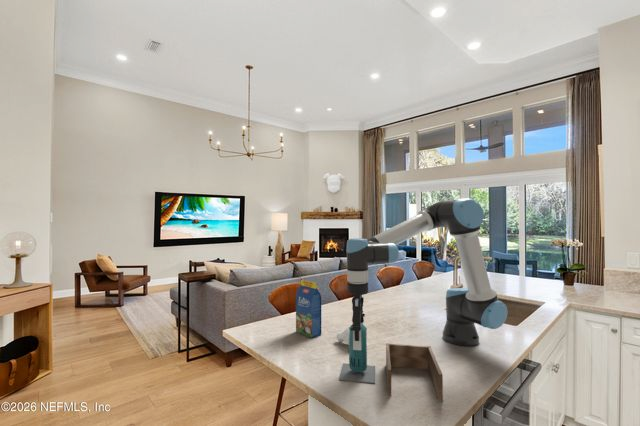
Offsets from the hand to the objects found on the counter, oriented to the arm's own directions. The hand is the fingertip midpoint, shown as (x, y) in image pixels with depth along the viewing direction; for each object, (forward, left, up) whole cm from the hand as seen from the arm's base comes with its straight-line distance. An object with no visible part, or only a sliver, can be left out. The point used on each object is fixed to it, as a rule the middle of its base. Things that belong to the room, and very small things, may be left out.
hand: (358, 341), depth 109 cm
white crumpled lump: (+6, -25, -11) cm, 28 cm away
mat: (0, 0, -11) cm, 11 cm away
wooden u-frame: (-18, +2, -11) cm, 21 cm away
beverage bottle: (0, 0, -11) cm, 11 cm away
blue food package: (+26, -35, -11) cm, 45 cm away
